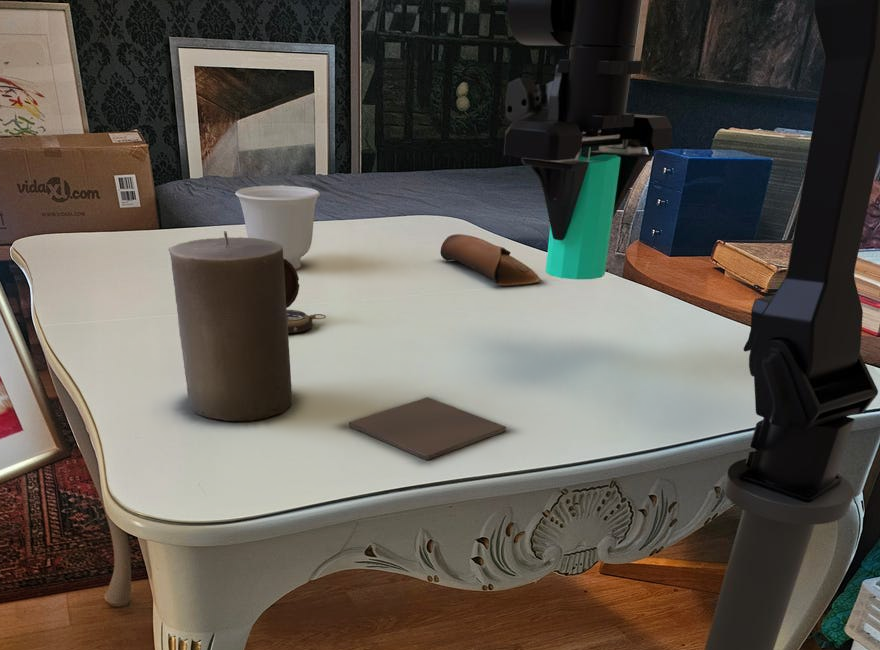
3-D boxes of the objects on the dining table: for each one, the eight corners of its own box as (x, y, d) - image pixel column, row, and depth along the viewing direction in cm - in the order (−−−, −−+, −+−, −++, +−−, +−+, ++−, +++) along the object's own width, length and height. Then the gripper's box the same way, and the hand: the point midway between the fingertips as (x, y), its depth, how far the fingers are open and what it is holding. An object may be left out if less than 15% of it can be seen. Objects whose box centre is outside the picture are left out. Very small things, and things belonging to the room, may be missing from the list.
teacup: (324, 254, 136) (322, 183, 131) (320, 276, 124) (317, 198, 119) (248, 253, 136) (242, 182, 130) (236, 274, 124) (229, 197, 118)
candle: (614, 272, 89) (634, 138, 82) (588, 282, 85) (606, 142, 78) (562, 264, 92) (577, 134, 85) (534, 273, 88) (547, 137, 81)
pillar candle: (297, 419, 79) (289, 240, 70) (188, 425, 77) (165, 243, 68) (286, 383, 86) (277, 219, 78) (186, 388, 85) (166, 220, 76)
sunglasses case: (546, 279, 123) (530, 237, 119) (507, 309, 123) (489, 268, 119) (487, 254, 137) (470, 215, 132) (451, 281, 137) (433, 243, 132)
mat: (506, 430, 77) (506, 426, 77) (427, 460, 72) (427, 456, 71) (427, 401, 83) (427, 397, 83) (348, 426, 77) (348, 422, 77)
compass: (270, 337, 99) (266, 270, 95) (250, 319, 105) (245, 255, 101) (335, 330, 102) (333, 264, 98) (311, 313, 108) (309, 250, 104)
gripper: (592, 46, 88) (573, 216, 96) (465, 44, 77) (456, 234, 86) (689, 48, 81) (658, 230, 90) (563, 45, 70) (543, 252, 79)
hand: (579, 235), depth 86 cm, fingers closed on candle, 6 cm apart
